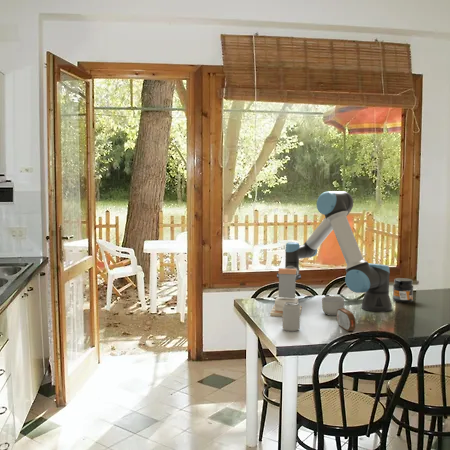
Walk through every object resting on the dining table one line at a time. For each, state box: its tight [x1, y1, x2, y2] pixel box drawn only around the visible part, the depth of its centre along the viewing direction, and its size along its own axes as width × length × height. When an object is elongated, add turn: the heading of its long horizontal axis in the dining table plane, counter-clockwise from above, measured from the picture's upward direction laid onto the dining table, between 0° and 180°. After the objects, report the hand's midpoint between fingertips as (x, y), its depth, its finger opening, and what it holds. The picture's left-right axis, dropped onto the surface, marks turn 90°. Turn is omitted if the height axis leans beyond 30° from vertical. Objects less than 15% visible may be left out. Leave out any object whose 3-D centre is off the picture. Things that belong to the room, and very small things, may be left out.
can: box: [282, 302, 301, 333], centre depth 243 cm, size 8×8×12 cm
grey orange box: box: [277, 267, 296, 298], centre depth 274 cm, size 3×9×14 cm, turn 78°
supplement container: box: [392, 277, 414, 304], centre depth 301 cm, size 10×10×12 cm
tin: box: [336, 307, 357, 332], centre depth 245 cm, size 15×3×8 cm, turn 12°
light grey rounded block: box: [321, 295, 345, 316], centre depth 273 cm, size 14×11×8 cm
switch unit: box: [269, 296, 303, 318], centre depth 274 cm, size 18×14×6 cm
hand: (285, 281), depth 275 cm, fingers closed
